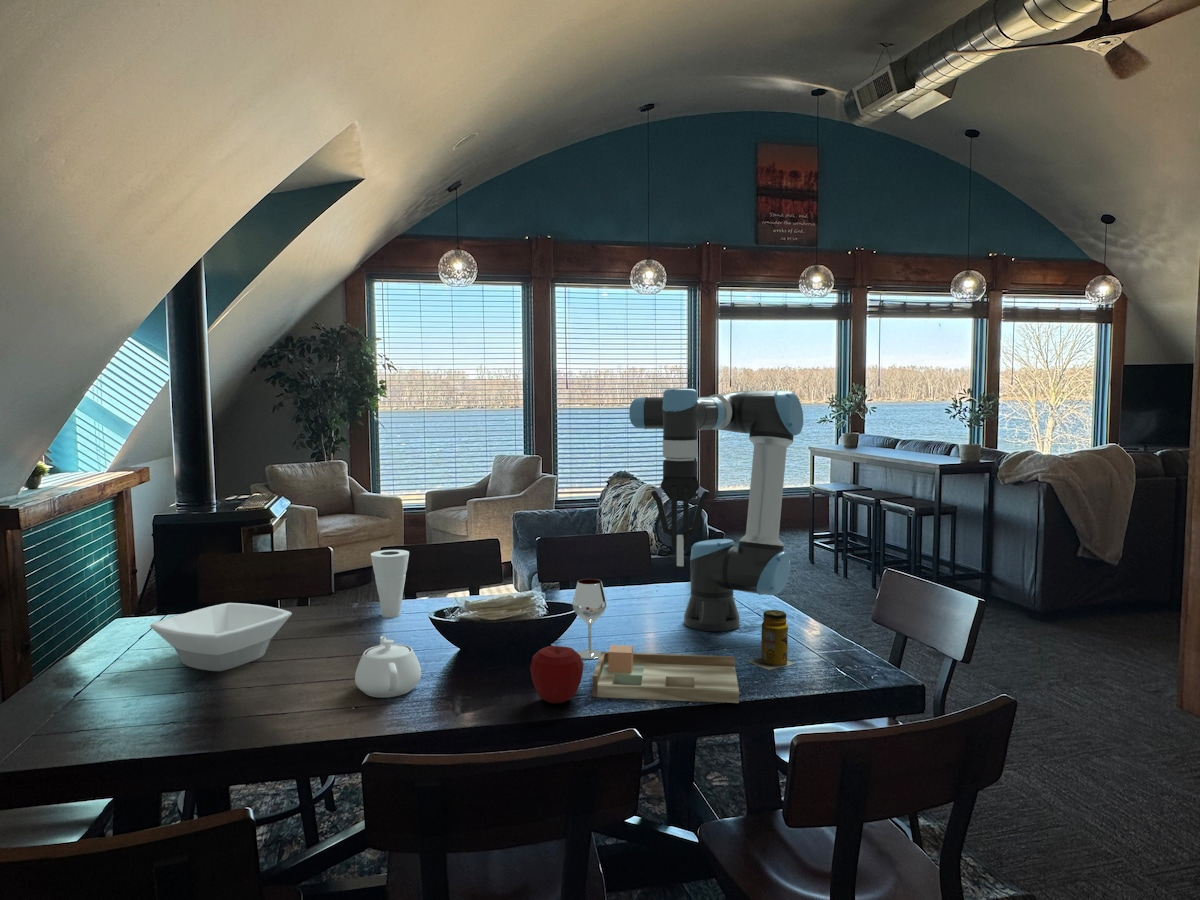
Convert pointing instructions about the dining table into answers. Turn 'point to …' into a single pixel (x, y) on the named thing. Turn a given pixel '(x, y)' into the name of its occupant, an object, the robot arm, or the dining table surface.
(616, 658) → the block
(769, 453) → the robot arm
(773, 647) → the condiment
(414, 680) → the teapot
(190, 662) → the bowl
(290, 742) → the dining table surface
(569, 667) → the apple
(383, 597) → the cup
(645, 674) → the tray
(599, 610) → the wineglass
